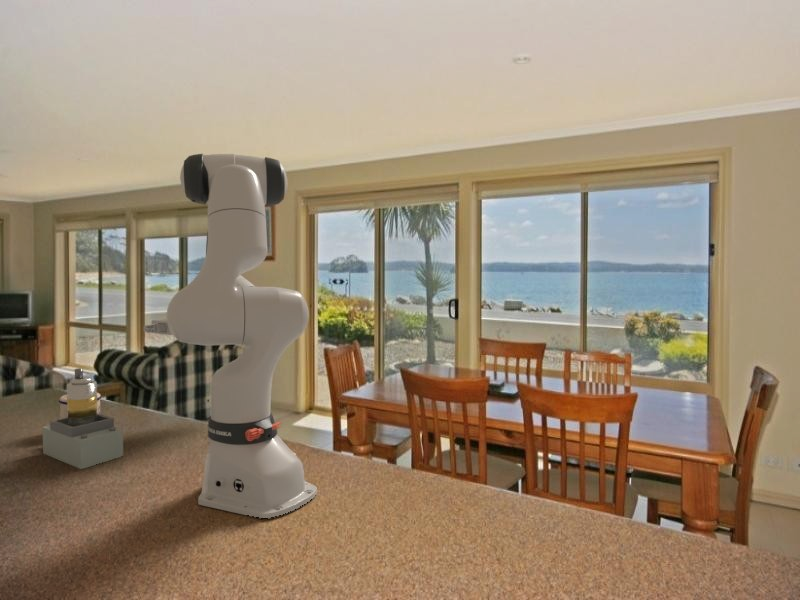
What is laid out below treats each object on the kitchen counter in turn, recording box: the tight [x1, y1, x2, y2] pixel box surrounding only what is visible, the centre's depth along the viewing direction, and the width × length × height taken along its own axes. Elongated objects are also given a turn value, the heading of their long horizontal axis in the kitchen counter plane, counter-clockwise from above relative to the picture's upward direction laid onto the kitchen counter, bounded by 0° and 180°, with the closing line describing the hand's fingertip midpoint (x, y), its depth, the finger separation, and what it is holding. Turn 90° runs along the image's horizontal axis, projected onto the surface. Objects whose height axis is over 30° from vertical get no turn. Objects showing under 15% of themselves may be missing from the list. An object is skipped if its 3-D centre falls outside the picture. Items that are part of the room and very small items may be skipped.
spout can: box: [66, 368, 98, 427], centre depth 117 cm, size 6×6×13 cm
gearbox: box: [42, 413, 124, 470], centre depth 118 cm, size 20×9×8 cm, turn 58°
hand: (156, 330), depth 128 cm, fingers open, 8 cm apart
